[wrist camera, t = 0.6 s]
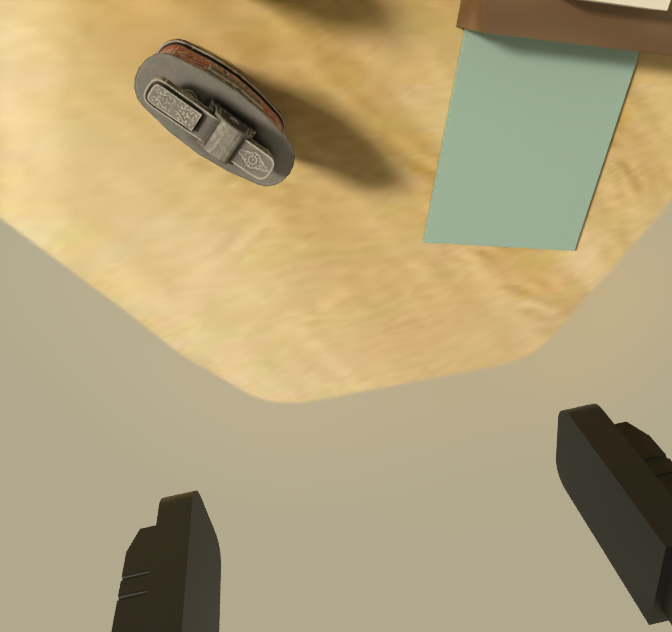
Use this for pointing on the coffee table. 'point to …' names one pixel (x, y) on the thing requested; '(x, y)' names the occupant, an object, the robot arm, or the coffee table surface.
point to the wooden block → (572, 23)
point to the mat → (525, 140)
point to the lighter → (215, 112)
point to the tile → (638, 3)
